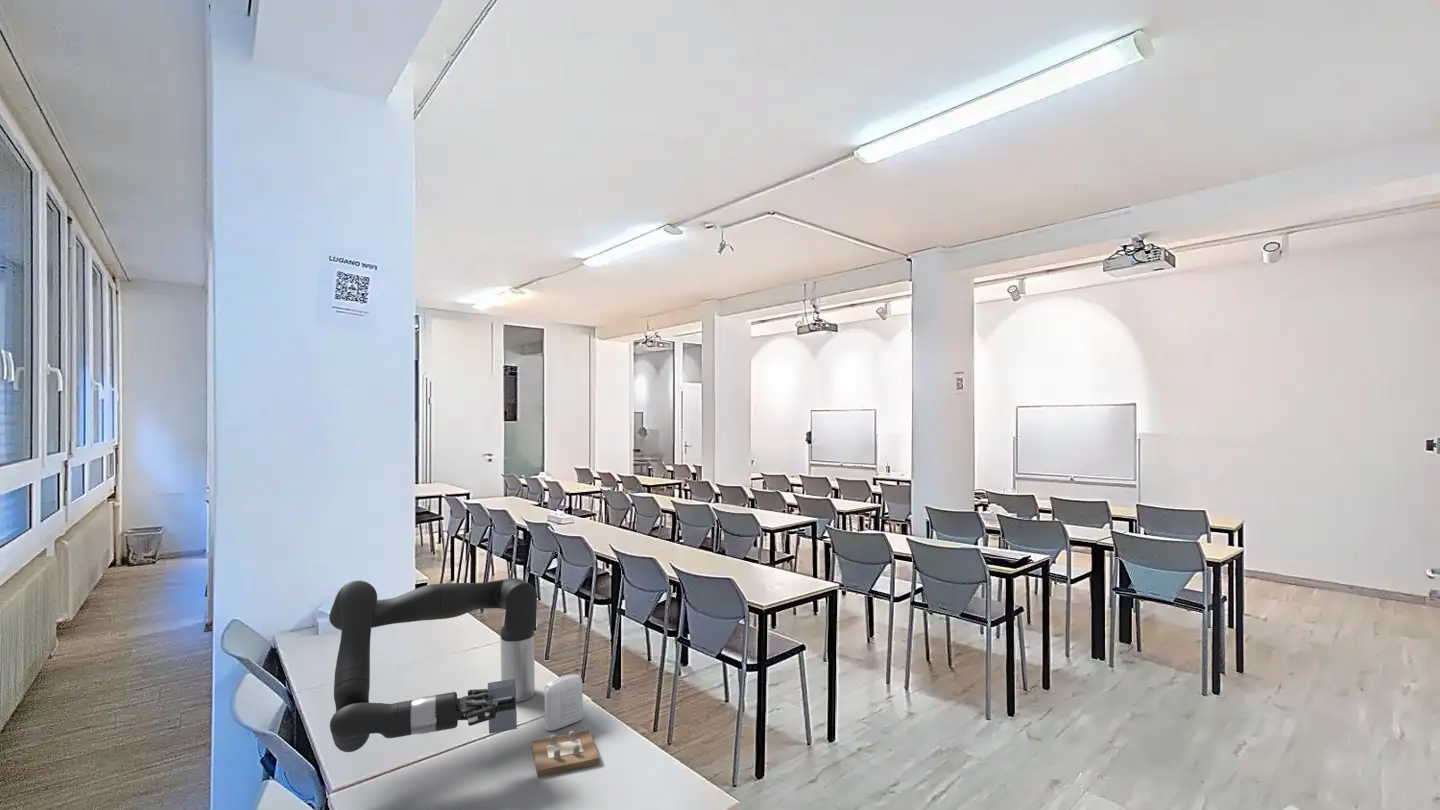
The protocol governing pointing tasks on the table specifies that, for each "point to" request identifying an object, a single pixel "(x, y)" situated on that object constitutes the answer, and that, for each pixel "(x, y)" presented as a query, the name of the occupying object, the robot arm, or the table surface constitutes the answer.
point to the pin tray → (564, 753)
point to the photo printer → (563, 702)
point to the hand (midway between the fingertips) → (514, 699)
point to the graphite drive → (499, 693)
